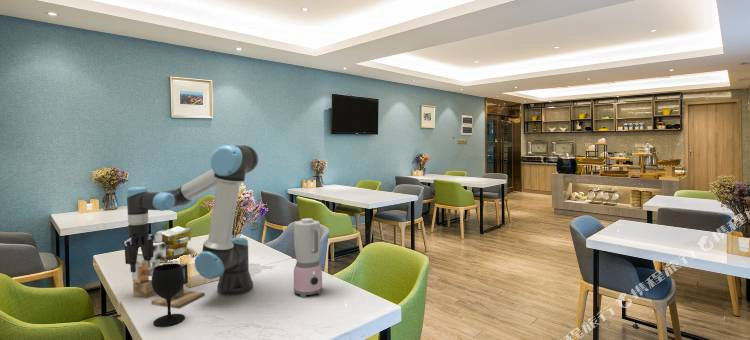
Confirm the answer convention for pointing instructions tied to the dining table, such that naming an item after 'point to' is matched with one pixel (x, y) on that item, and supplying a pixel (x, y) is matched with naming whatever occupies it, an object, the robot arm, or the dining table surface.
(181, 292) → the eye post
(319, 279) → the blender
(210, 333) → the dining table surface
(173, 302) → the base board
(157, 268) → the wine glass
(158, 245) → the toy llama
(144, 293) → the rest block
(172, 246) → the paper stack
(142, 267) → the hook
